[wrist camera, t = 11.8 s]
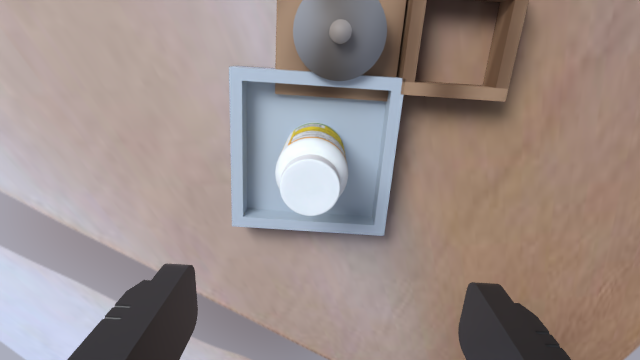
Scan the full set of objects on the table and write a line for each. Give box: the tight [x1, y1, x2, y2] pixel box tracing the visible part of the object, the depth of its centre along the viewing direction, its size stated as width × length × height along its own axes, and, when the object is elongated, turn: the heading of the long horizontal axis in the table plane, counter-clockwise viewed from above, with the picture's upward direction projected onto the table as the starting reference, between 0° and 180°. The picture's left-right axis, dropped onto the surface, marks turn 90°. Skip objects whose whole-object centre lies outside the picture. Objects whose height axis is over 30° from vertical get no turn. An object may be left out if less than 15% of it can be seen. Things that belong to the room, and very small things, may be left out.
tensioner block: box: [275, 0, 529, 102], centre depth 27 cm, size 19×10×4 cm, turn 86°
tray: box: [229, 66, 406, 236], centre depth 32 cm, size 14×14×2 cm
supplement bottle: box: [275, 122, 348, 216], centre depth 28 cm, size 5×5×10 cm
